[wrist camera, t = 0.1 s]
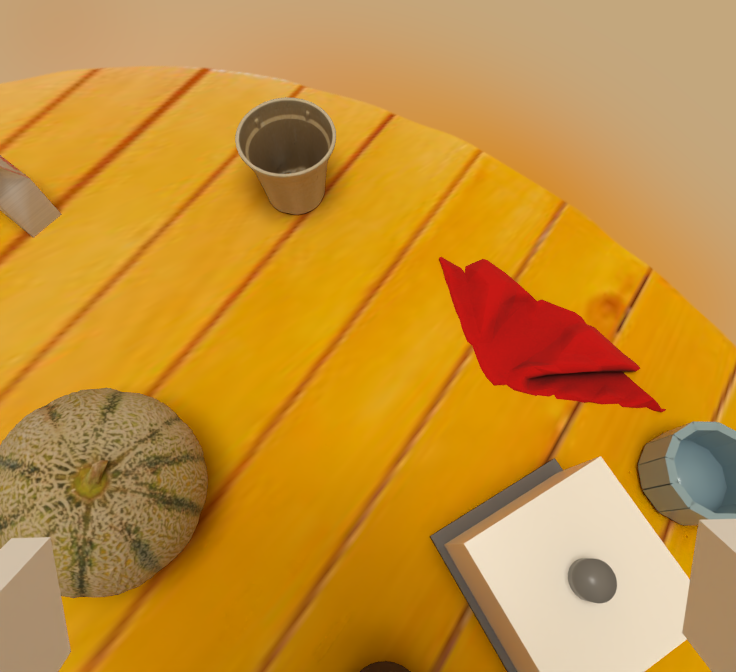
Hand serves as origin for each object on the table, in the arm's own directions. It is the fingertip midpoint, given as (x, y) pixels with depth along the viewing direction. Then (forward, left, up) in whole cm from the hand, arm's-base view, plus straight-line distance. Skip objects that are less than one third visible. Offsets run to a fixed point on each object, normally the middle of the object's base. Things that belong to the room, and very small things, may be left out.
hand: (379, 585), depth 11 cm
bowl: (-8, -28, -36) cm, 46 cm away
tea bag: (+48, +14, -36) cm, 62 cm away
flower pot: (+36, -12, -36) cm, 52 cm away
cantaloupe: (+14, +14, -36) cm, 41 cm away
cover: (-8, -12, -35) cm, 38 cm away
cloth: (+9, -25, -37) cm, 45 cm away
